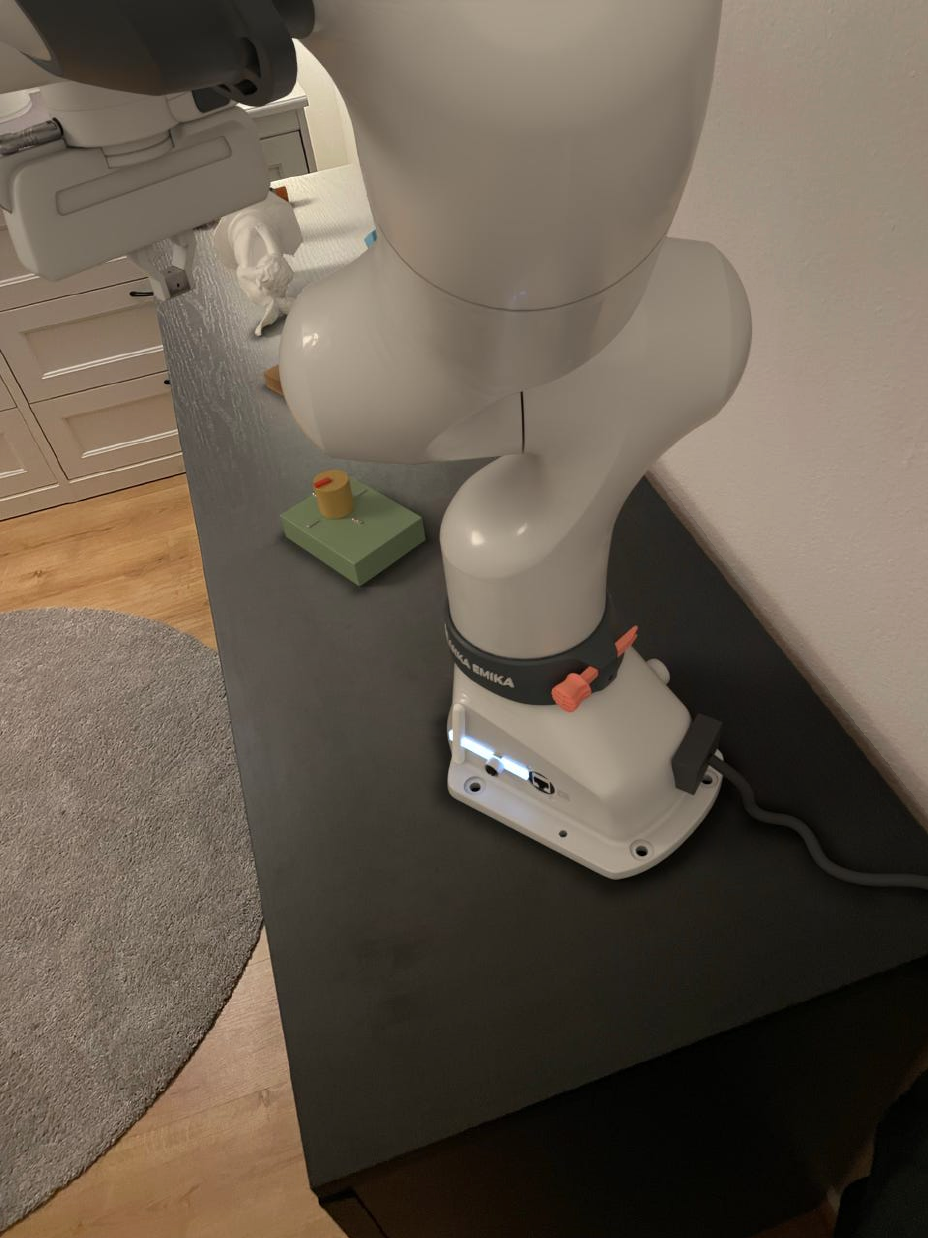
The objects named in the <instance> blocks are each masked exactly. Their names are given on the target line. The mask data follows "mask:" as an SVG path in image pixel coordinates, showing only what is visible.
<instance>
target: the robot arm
mask: <svg viewBox="0 0 928 1238" xmlns="http://www.w3.org/2000/svg"><path fill="white" fill-rule="evenodd" d="M723 2H724V1H723V0H0V95H4V94H9V93H10V94H11V93H14V92H19V91H24V90H25V91H26V90H29V89H36V88H38V89H39V92H40V94H41V97H42V100H43V102H44V105H45V109H46V111H47V114H48V116H49V119H50V120H49V119H48V120H45V121H43V122H40V123H36V124H33V125H31V126H28V127H26V128H24V129H22V130H19V131H17V132H16V131H15V132H13V133H11V132H8V133H2V134H0V208H1V209H2V212H3V216H4V220H5V223H6V227H7V230H8V232H9V236H10V239H11V242H12V244H13V247H14V250H15V252H16V255H17V257H18V260H19V262H20V264H21V265H22V266H23V267H24V268H25V269H26V270H27V271H29V272H30V273H31V274H33V275H35V276H37V277H38V278H41V279H43V280H46V281H48V282H51V283H56V282H59V281H62V280H65V279H67V278H69V277H72V276H75V275H77V274H80V273H83V272H86V271H88V270H91V269H93V268H95V267H98V266H101V265H104V264H106V263H108V262H111V261H113V260H115V259H118V258H121V257H124V256H125V257H126V259H127V260H128V261H129V262H130V263H131V264H132V265H133V266H134V267H136V268H137V269H138V270H139V272H141V273H142V274H143V275H144V276H146V277H147V278H148V281H149V283H150V286H151V289H152V292H153V294H154V296H155V297H156V299H158V300H159V301H162V302H167V301H170V300H171V299H174V298H176V297H178V296H182V295H183V294H185V293H186V294H187V293H188V292H191V291H193V290H196V288H197V286H196V284H197V283H196V281H195V277H194V275H193V271H192V269H191V268H192V267H193V263H194V258H195V253H196V248H197V243H198V242H197V238H196V235H195V232H194V229H195V228H199V227H200V226H203V225H205V224H208V223H210V222H213V221H216V220H218V219H219V220H220V219H221V218H222V217H224V216H226V215H229V214H231V213H234V212H236V211H239V210H242V209H244V208H247V207H249V206H252V205H254V204H257V203H260V202H262V201H264V200H265V199H266V198H267V195H268V192H269V189H270V187H271V185H272V184H271V183H272V181H271V174H270V171H269V166H268V162H267V158H266V155H265V151H264V148H263V144H262V142H261V141H262V140H261V138H260V135H259V133H258V132H259V131H258V130H257V126H256V125H255V123H254V120H253V118H252V117H251V115H250V114H249V113H248V112H247V111H246V110H245V109H244V108H243V107H241V106H239V104H241V105H243V106H246V107H251V108H261V107H265V106H267V105H269V104H271V103H274V102H276V101H279V100H281V99H284V98H286V97H288V96H290V94H291V93H292V92H293V91H294V88H295V86H296V84H297V80H298V72H299V71H298V70H299V69H298V58H297V50H296V46H295V43H294V40H297V41H298V42H299V43H300V44H301V45H302V46H303V47H304V48H305V49H306V50H307V51H308V52H309V53H310V54H311V55H312V56H313V57H314V58H315V59H316V60H317V61H318V63H319V64H320V65H321V66H322V68H323V69H324V70H325V71H326V72H327V74H328V75H329V77H330V78H331V80H332V81H333V83H334V86H335V87H336V88H337V90H338V92H339V94H340V96H341V98H342V100H343V103H344V105H345V108H346V111H347V113H348V116H349V120H350V122H351V126H352V130H353V137H354V143H355V148H356V154H357V159H358V163H359V167H360V168H359V169H360V172H361V176H362V180H363V184H364V188H365V192H366V197H367V201H368V204H369V208H370V213H371V215H372V220H373V224H374V229H376V234H377V239H376V241H375V242H374V243H373V244H372V245H371V246H370V247H369V248H368V247H367V249H366V250H365V251H364V252H362V253H361V254H360V255H359V256H358V257H357V258H356V259H354V260H353V261H351V262H350V263H348V264H347V265H345V266H343V267H342V268H340V269H339V270H337V271H335V272H333V273H330V274H329V275H327V276H325V277H323V278H321V279H318V280H315V281H313V282H312V283H309V284H307V285H305V287H304V288H303V289H302V290H301V292H300V293H299V294H298V295H297V297H296V298H297V299H296V300H295V302H294V304H293V305H292V307H291V309H290V311H289V314H288V315H286V318H285V320H284V324H283V328H282V331H281V335H280V340H279V346H278V364H279V375H280V381H281V386H282V390H283V394H284V396H283V397H284V400H285V402H286V405H287V408H288V409H289V411H290V414H291V415H292V418H293V420H294V421H295V423H296V424H297V426H298V427H299V429H300V430H301V431H302V432H303V434H304V435H305V437H306V438H307V439H308V440H309V441H310V442H311V443H312V444H313V445H314V446H315V447H316V448H317V449H318V450H320V451H321V452H322V453H323V454H325V455H326V456H328V457H329V458H331V459H336V460H337V459H338V460H344V461H353V462H364V463H374V464H375V463H377V464H389V465H407V466H408V465H409V466H417V465H427V464H436V463H444V462H455V461H463V460H473V459H484V458H493V457H494V458H495V457H498V458H496V459H495V460H493V461H492V462H490V463H488V464H487V465H485V466H484V467H482V468H480V469H479V470H478V471H476V472H475V473H473V474H472V475H471V476H470V477H468V478H467V479H466V480H465V481H464V482H463V483H462V485H461V486H460V488H459V489H458V490H457V492H455V495H454V496H453V497H452V499H451V500H450V503H449V504H448V506H447V508H446V510H445V512H444V514H443V516H442V521H441V522H440V523H441V524H440V528H439V529H440V530H439V543H440V550H441V557H442V563H443V571H444V578H445V585H446V586H445V587H446V592H447V594H446V599H445V602H444V620H445V622H444V632H445V638H446V640H447V641H446V642H447V644H448V649H449V653H450V656H451V658H452V660H453V663H454V669H453V680H452V681H453V683H452V699H451V701H452V702H451V706H450V709H449V712H448V716H447V723H446V735H447V741H448V745H449V749H450V754H451V760H450V763H449V767H448V773H447V790H448V793H449V795H450V796H451V797H452V798H454V799H455V800H457V801H459V802H461V803H463V804H465V805H466V806H469V807H471V808H472V809H474V810H476V811H478V812H480V813H482V814H484V815H486V816H487V817H490V818H491V819H493V820H495V821H497V822H499V823H501V824H503V825H504V826H507V827H509V828H511V829H512V830H515V831H516V832H519V833H520V834H522V835H524V836H526V837H528V838H530V839H532V840H533V841H535V842H537V843H540V844H542V845H544V846H545V847H547V848H549V849H551V850H553V851H555V852H556V853H559V854H561V855H562V856H564V857H566V858H569V859H570V860H572V861H574V862H576V863H578V864H580V865H582V866H583V867H586V868H587V869H590V870H591V871H593V872H594V873H598V874H599V875H601V876H603V877H606V878H608V879H610V880H621V879H626V878H630V877H632V876H636V875H639V874H641V873H643V872H645V871H647V870H649V869H651V868H653V867H654V866H657V865H658V864H659V863H661V862H662V861H664V860H665V859H667V858H668V857H669V856H670V855H672V854H673V853H674V852H675V851H676V850H678V848H680V847H681V846H682V845H683V844H684V843H685V841H686V840H688V839H689V837H690V836H691V835H692V834H693V833H694V831H696V830H697V829H698V827H699V826H700V825H701V823H702V822H703V821H704V820H705V818H706V817H707V815H708V814H709V812H710V810H712V807H713V806H714V804H715V802H716V800H717V798H718V796H719V793H720V790H721V787H722V783H723V779H724V778H726V779H727V780H728V781H729V782H730V783H732V785H734V786H735V788H736V789H737V790H738V791H739V792H740V795H741V798H742V799H741V800H742V804H743V807H744V810H745V811H746V813H747V814H748V815H749V816H750V817H751V818H753V819H754V820H757V821H758V822H762V823H765V824H769V825H777V826H783V827H787V828H789V829H791V830H794V831H795V832H796V833H798V835H799V836H800V837H801V839H802V840H803V842H804V843H805V846H806V848H807V850H808V852H809V854H810V855H811V857H812V859H813V861H814V862H815V863H816V865H817V866H818V867H819V868H820V869H821V870H822V871H824V872H825V873H827V874H828V875H830V876H832V877H834V878H836V879H838V880H841V881H843V882H846V883H849V884H853V885H854V884H855V885H859V886H867V887H903V888H904V887H905V888H918V889H922V890H926V891H928V876H926V875H921V874H914V873H873V872H872V873H870V872H860V871H856V870H852V869H848V868H846V867H842V866H841V865H839V864H836V863H835V862H833V861H832V860H830V858H829V857H827V856H826V854H825V853H824V850H823V849H822V847H821V845H820V843H819V841H818V839H817V837H816V835H815V833H814V832H813V831H812V830H811V828H810V827H809V826H808V825H807V824H806V823H805V822H803V821H802V820H801V819H799V818H798V817H795V816H793V815H789V814H787V813H786V814H785V813H780V812H773V811H768V810H764V809H762V808H760V806H758V805H757V803H756V800H755V793H754V791H753V788H752V785H751V784H750V783H749V782H748V781H747V779H746V778H745V777H744V776H743V775H742V774H741V773H739V772H738V770H736V769H735V768H733V767H732V766H731V765H729V764H728V763H727V762H726V761H724V756H723V753H722V752H721V751H720V750H719V745H720V739H721V735H722V729H723V721H721V720H718V719H716V718H713V717H710V716H707V715H705V714H702V713H700V712H698V713H697V714H696V716H695V718H694V720H693V719H692V716H691V714H690V712H689V710H688V708H687V707H686V706H685V705H684V703H683V702H682V701H681V699H679V698H678V697H677V695H676V694H675V693H674V692H673V691H672V690H671V689H670V687H669V686H668V684H669V682H670V679H671V676H670V672H669V670H668V669H667V666H666V665H665V664H664V663H663V661H660V660H659V659H657V658H650V659H648V660H645V659H644V658H643V657H642V655H641V654H640V653H639V652H638V651H637V650H636V649H635V648H634V647H633V646H632V645H633V643H634V642H635V641H636V639H637V637H638V633H636V632H637V631H638V629H639V627H638V625H634V626H632V627H631V628H630V629H629V630H628V631H627V632H626V633H625V634H624V630H623V628H622V624H621V621H620V619H619V616H618V613H617V610H616V607H615V604H614V602H613V601H614V600H613V599H612V595H611V593H610V592H609V589H608V587H607V577H608V565H609V559H610V549H611V543H612V537H613V531H614V528H615V524H616V522H617V519H618V517H619V514H620V512H621V510H622V508H623V507H624V504H625V503H626V501H627V499H628V498H629V496H630V495H631V493H632V491H633V490H634V489H635V487H636V486H637V485H638V484H639V482H640V481H641V480H642V478H643V477H644V476H645V474H646V473H647V472H648V471H649V470H650V469H651V467H652V466H654V464H655V463H656V462H657V461H658V460H660V458H662V456H663V455H664V454H665V453H666V452H667V451H668V450H670V449H671V448H672V447H673V446H675V445H676V444H677V443H678V442H679V441H681V440H682V439H683V438H685V437H686V436H687V435H689V434H691V433H692V432H693V431H694V430H696V429H698V428H699V427H701V426H703V425H705V424H706V423H708V422H709V421H711V420H712V419H714V418H715V417H717V415H719V413H720V412H721V411H722V410H723V409H724V408H725V406H726V405H727V404H728V403H729V401H730V400H731V398H732V397H733V396H734V394H735V392H736V391H737V389H738V387H739V385H740V383H741V381H742V378H743V376H744V374H745V372H746V369H747V366H748V362H749V359H750V354H751V349H752V343H753V317H752V316H753V315H752V310H751V305H750V301H749V297H748V293H747V291H746V288H745V285H744V283H743V281H742V279H741V277H740V274H739V273H738V272H737V270H736V268H735V267H734V265H733V264H732V263H731V261H730V260H729V259H728V257H727V256H725V254H724V253H723V252H722V251H721V250H720V249H719V248H717V246H716V245H715V244H713V243H711V242H710V241H705V240H697V239H689V238H680V237H673V236H668V234H669V231H670V230H671V229H670V228H671V226H672V224H673V221H674V218H675V216H676V213H677V211H678V209H679V206H680V202H681V200H682V198H683V196H684V192H685V190H686V186H687V183H688V182H689V179H690V176H691V173H692V170H693V165H694V161H695V158H696V154H697V150H698V147H699V143H700V141H701V135H702V132H703V129H704V126H705V125H704V124H705V121H706V117H707V112H708V107H709V102H710V96H711V91H712V88H713V87H712V86H713V82H714V76H715V67H716V60H717V54H718V53H717V52H718V46H719V37H720V30H721V23H722V14H723ZM293 39H294V40H293ZM198 226H199V227H198ZM164 240H167V241H168V242H169V243H171V244H173V252H172V260H171V265H170V266H168V267H166V268H164V269H162V270H159V269H158V268H157V267H156V266H155V265H154V264H153V263H152V262H151V261H152V260H154V259H156V254H155V252H154V248H153V245H155V244H158V243H159V242H162V241H164ZM703 781H707V782H709V783H708V784H706V783H704V782H703ZM473 789H479V790H477V791H472V790H473ZM638 852H644V853H645V854H646V855H643V856H641V855H639V854H638Z"/></svg>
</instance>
